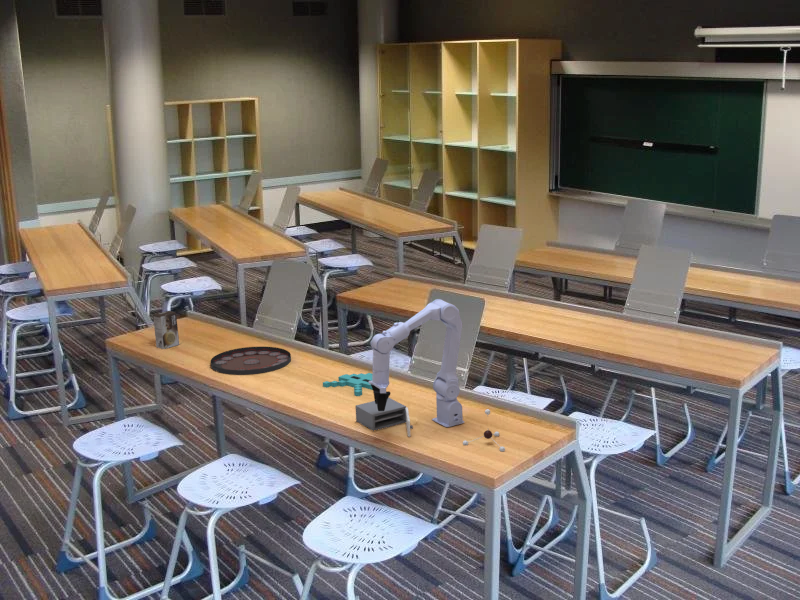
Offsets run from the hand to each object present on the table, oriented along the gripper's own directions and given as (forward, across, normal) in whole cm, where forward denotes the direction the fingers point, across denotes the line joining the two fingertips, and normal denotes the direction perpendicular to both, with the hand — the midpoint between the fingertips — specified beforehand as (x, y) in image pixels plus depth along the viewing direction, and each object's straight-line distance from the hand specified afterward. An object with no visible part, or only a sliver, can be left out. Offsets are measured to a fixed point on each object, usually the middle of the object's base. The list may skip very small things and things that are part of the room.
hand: (379, 407), depth 317 cm
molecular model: (+8, +18, +36) cm, 41 cm away
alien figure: (+10, -55, -1) cm, 56 cm away
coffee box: (+14, -135, -84) cm, 159 cm away
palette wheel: (+12, -98, -44) cm, 108 cm away
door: (+9, -2, +11) cm, 14 cm away
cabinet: (+10, -12, +2) cm, 16 cm away
